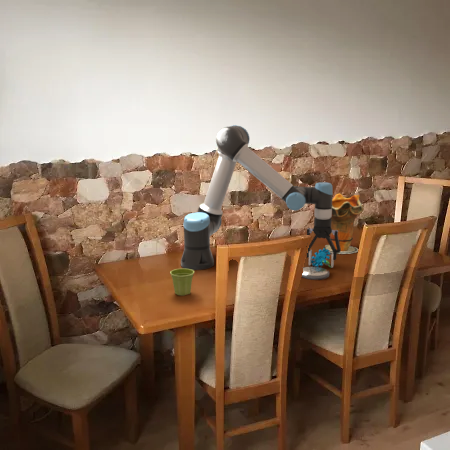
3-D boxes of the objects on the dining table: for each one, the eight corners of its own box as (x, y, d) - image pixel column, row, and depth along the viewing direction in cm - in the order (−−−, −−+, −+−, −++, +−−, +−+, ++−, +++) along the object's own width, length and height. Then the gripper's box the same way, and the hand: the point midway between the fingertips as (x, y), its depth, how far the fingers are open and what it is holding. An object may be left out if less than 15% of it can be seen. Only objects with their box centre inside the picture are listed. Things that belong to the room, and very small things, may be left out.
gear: (306, 259, 239) (322, 244, 238) (314, 266, 242) (329, 251, 241) (317, 269, 229) (333, 253, 229) (325, 277, 232) (341, 261, 231)
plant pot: (173, 288, 208) (172, 267, 206) (196, 289, 207) (196, 268, 205) (168, 297, 199) (167, 275, 197) (192, 297, 198) (192, 276, 196)
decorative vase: (314, 252, 254) (317, 196, 249) (324, 243, 275) (327, 191, 270) (357, 257, 246) (361, 199, 241) (364, 247, 267) (367, 193, 262)
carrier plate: (295, 277, 219) (296, 274, 219) (301, 268, 231) (301, 265, 231) (326, 281, 215) (326, 277, 215) (331, 271, 227) (331, 268, 227)
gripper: (349, 217, 230) (346, 265, 235) (299, 214, 237) (298, 261, 242) (347, 221, 223) (344, 270, 228) (296, 217, 230) (295, 265, 235)
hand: (321, 265), depth 235 cm, fingers closed on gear, 9 cm apart
